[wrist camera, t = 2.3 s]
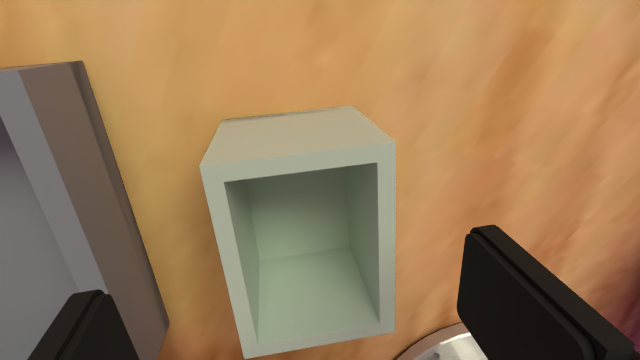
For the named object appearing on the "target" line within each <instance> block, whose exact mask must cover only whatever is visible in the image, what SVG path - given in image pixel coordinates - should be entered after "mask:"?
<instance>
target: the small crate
mask: <svg viewBox="0 0 640 360" xmlns="http://www.w3.org/2000/svg"><path fill="white" fill-rule="evenodd" d="M199 168H200V172H201V176H202V181H203V185H204V189H205V193H206V198H207V202H208V206H209V211H210V215H211V219H212V223H213V228H214V232H215V236H216V240H217V245H218V249H219V253H220V258H221V262H222V266H223V270H224V275H225V279H226V283H227V287H228V292H229V296H230V300H231V305H232V309H233V313H234V317H235V322H236V326H237V330H238V334H239V339H240V343H241V347H242V352H243V356H244V359H248V358H254V357H259V356H265V355H270V354H276V353H282V352H287V351H293V350H298V349H304V348H310V347H315V346H321V345H326V344H332V343H338V342H343V341H349V340H354V339H360V338H366V337H371V336H377V335H382V334H388V333H394V332H395V194H396V142H395V141H394V140H393V139H392V138H391V137H389V136H388V135H387V134H386V133H385V132H383V131H382V130H381V129H380V128H379V127H377V126H376V125H375V124H374V123H373V122H371V121H370V120H369V119H368V118H367V117H365V116H364V115H363V114H362V113H361V112H359V111H358V110H357V109H356V108H355V107H354V106H343V107H334V108H325V109H316V110H307V111H298V112H289V113H280V114H271V115H262V116H253V117H244V118H235V119H226V120H222V122H221V124H220V126H219V127H218V129H217V131H216V133H215V135H214V137H213V139H212V141H211V143H210V145H209V147H208V149H207V151H206V153H205V155H204V157H203V159H202V161H201V163H200V165H199Z"/></svg>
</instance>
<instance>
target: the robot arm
mask: <svg viewBox="0 0 640 360" xmlns="http://www.w3.org/2000/svg"><path fill="white" fill-rule="evenodd" d="M457 311H458V315H459V317H460V319H461V321H462V322H463V323H459V324H456V325H453V326H450V327H447V328H444V329H441V330H439V331H437V332H435V333H433V334H431V335H429V336H427V337H425V338H423V339H422V340H420V341H419V342H417V343H416V344H414V345H413V346H411V347H410V348H409V349H408V350H407V351H405V352H404V353H403V354H402V355H401V356H400V357H399V358H398V359H397V360H640V354H639V353H638V352H636V351H635V350H634V349H633V348H634V346H635V344H634V343H633V342H632V341H631V340H629V339H628V338H627V337H626V336H625V335H624V334H622V333H621V332H620V331H619V330H618V329H617V328H615V327H614V326H613V325H612V324H611V323H610V322H608V321H607V320H606V319H605V318H604V317H603V316H601V315H600V314H599V313H598V312H597V311H596V310H594V309H593V308H592V307H591V306H590V305H589V304H587V303H586V302H585V301H584V300H583V299H582V298H580V297H579V296H578V295H577V294H576V293H575V292H573V291H572V290H571V289H570V288H569V287H568V286H566V285H565V284H564V283H563V282H562V281H561V280H559V279H558V278H557V277H556V276H555V275H554V274H552V273H551V272H550V271H549V270H548V269H547V268H545V267H544V266H543V265H542V264H541V263H540V262H538V261H537V260H536V259H535V258H534V257H533V256H531V255H530V254H529V253H528V252H527V251H526V250H524V249H523V248H522V247H521V246H520V245H519V244H517V243H516V242H515V241H514V240H513V239H512V238H510V237H509V236H508V235H507V234H506V233H505V232H503V231H502V230H501V229H500V228H499V227H497V226H496V225H487V226H481V227H475V228H473V229H472V230H471V231H470V234H467V235H466V237H465V244H464V252H463V260H462V268H461V276H460V284H459V292H458V300H457ZM27 360H140V359H139V357H138V355H137V352H136V350H135V348H134V346H133V343H132V341H131V339H130V336H129V334H128V332H127V329H126V327H125V325H124V323H123V320H122V318H121V316H120V313H119V311H118V309H117V306H116V304H115V302H114V300H113V297H112V296H111V295H110V294H105V293H104V292H103V291H102V290H100V289H97V290H91V291H85V292H79V293H74V294H72V295H71V296H70V297H69V298H68V300H67V301H66V303H65V304H64V306H63V307H62V309H61V310H60V312H59V313H58V315H57V316H56V317H55V319H54V320H53V322H52V323H51V325H50V326H49V328H48V329H47V331H46V332H45V334H44V335H43V337H42V338H41V340H40V341H39V343H38V344H37V346H36V347H35V349H34V350H33V352H32V353H31V355H30V356H29V357H28V359H27Z"/></svg>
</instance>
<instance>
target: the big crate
mask: <svg viewBox="0 0 640 360" xmlns="http://www.w3.org/2000/svg"><path fill="white" fill-rule="evenodd" d="M97 289H100V290H102V291H103V292H104V293H105V294H110V295H111V296H112V297H113V300H114V302H115V304H116V306H117V309H118V311H119V313H120V316H121V318H122V320H123V323H124V325H125V327H126V329H127V332H128V334H129V336H130V339H131V341H132V343H133V346H134V348H135V350H136V352H137V355H138V357H139V359H140V360H157V358H158V355H159V352H160V349H161V346H162V343H163V340H164V337H165V334H166V331H167V328H168V325H169V319H168V316H167V313H166V310H165V307H164V304H163V301H162V298H161V295H160V292H159V289H158V286H157V283H156V280H155V277H154V274H153V271H152V268H151V265H150V262H149V259H148V256H147V253H146V250H145V247H144V244H143V241H142V238H141V235H140V232H139V229H138V226H137V223H136V220H135V217H134V214H133V211H132V208H131V205H130V202H129V199H128V196H127V193H126V190H125V187H124V184H123V181H122V178H121V175H120V172H119V169H118V166H117V163H116V160H115V157H114V154H113V151H112V148H111V145H110V142H109V139H108V136H107V133H106V130H105V127H104V124H103V121H102V118H101V116H100V113H99V110H98V107H97V104H96V101H95V98H94V95H93V92H92V89H91V86H90V83H89V80H88V77H87V74H86V71H85V68H84V65H83V62H82V61H73V62H62V63H51V64H40V65H29V66H18V67H7V68H0V360H27V359H28V357H29V356H30V355H31V353H32V352H33V350H34V349H35V347H36V346H37V344H38V343H39V341H40V340H41V338H42V337H43V335H44V334H45V332H46V331H47V329H48V328H49V326H50V325H51V323H52V322H53V320H54V319H55V317H56V316H57V315H58V313H59V312H60V310H61V309H62V307H63V306H64V304H65V303H66V301H67V300H68V298H69V297H70V296H71V295H72V294H74V293H79V292H85V291H91V290H97Z"/></svg>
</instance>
